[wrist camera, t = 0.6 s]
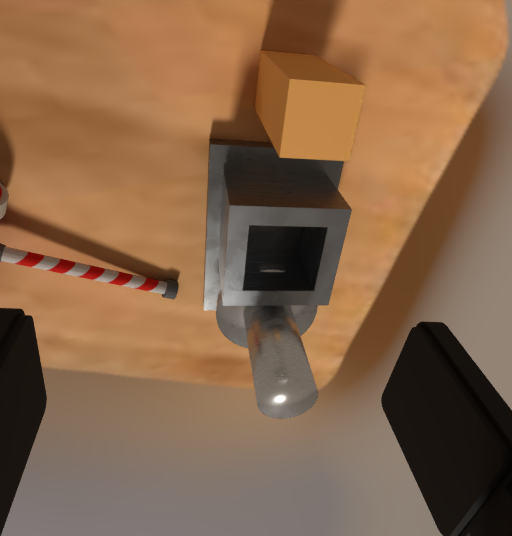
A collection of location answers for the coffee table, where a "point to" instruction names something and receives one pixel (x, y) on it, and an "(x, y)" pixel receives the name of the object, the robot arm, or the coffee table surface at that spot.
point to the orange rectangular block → (307, 106)
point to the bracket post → (272, 260)
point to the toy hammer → (81, 266)
